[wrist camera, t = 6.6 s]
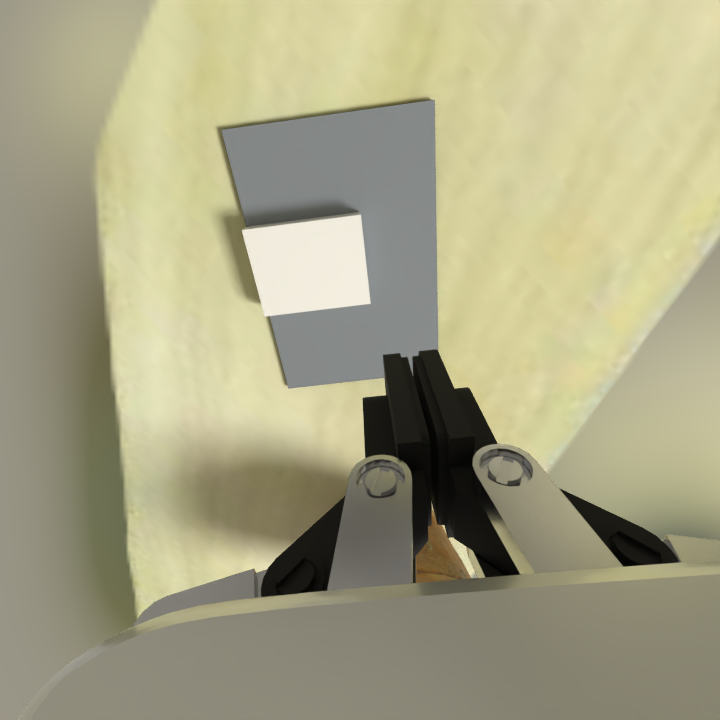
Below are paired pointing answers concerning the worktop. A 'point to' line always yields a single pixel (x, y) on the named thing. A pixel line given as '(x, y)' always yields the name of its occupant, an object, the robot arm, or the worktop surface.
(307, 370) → the mat
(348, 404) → the worktop surface
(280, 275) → the tile
